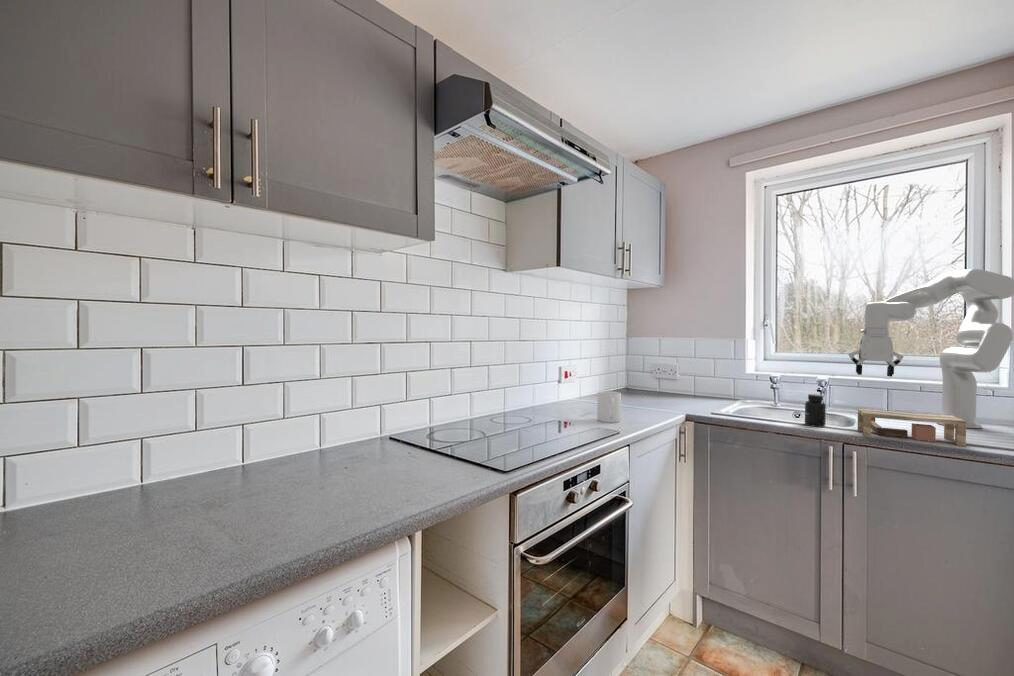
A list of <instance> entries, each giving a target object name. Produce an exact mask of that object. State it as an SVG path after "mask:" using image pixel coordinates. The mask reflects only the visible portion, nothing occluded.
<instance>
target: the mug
mask: <svg viewBox="0 0 1014 676" xmlns="http://www.w3.org/2000/svg"><path fill="white" fill-rule="evenodd" d="M596 411H597V416H596V417H597V420H598V422H600V423H607V424H616V423H617V424H618V423H620V422H621V420H622V392H619V391H613V390H612V391H611V390H603V391H601V390H600V391H597V410H596Z"/></svg>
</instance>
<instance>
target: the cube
mask: <svg viewBox="0 0 1014 676" xmlns="http://www.w3.org/2000/svg"><path fill="white" fill-rule="evenodd" d="M936 430H937V428H936V426H934V425H932V424H926V423H925V424H923V423H913V422H912V423H911V436H912V437H913V438H915V439H918V440H917V441H920V440H930V441H935V442H936V440H937V439H936V433H937V432H936ZM912 437H911V438H912ZM913 438H912V439H913ZM915 439H914V440H915ZM930 441H929V442H930Z"/></svg>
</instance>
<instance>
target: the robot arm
mask: <svg viewBox="0 0 1014 676" xmlns="http://www.w3.org/2000/svg"><path fill="white" fill-rule="evenodd" d="M959 293H960V294H961V297H962V298H963V300H964V302H965V303H966V306H967V313H966V315H965V317H964V319H963V321H962V323H961V324H960V327H959V329H958V330H957V333H956V336H955V340H956V342H957V343H958V344H959V345H962V346H952V347H948V348H945V349H944V350H942V352H941V353H940V354H939V364H940V368H941V371H942V372H941V373H942V374H941V375H942V389H941V390H942V395H941V396H942V397H941V415H952V416H955V417H957V418H959V419H962V420H964V421H966V429H981V428H982V426H983V425H982V424H980V423H978V422H977V389H978V387H977V386H978V385H977V384H978V383H977V380H976V377H975V375H974V373H992V372H993V371H995V370H996V369H998V367H999V366H1000V364H1001V363H1002V361H1003V359H1004V357H1005V355H1006V353H1007V352H1008V351H1009V348H1010V347H1011V344H1012V342H1013V331H1012V329H1011V327H1010V326H1008V324H1006V323H1001V322H997V319H998V317H999V311H998V308H997V306H995V303H994V302H993V301H992V300H1004V299H1009V298H1011V297H1013V296H1014V278H1013V277H1011V276H1008V275H1005V274H1000V273H996V272H993V271H988V270H985V269H980V268H979V269H978V268H970V269H962V270H955V271H950V272H947V273H944V274H943V275H940V276H939V277H937V278H935V279H933V280H931V281H929V282H927V283H925V284H923V285H921V286H919V287H917V288H916V287H915V288H913V289H910V290H908V291H905V292H902V293H900V294H897V295H894V296H892V297H889V298H888V299H885V300H884V301H873V302H868V303H866V305H865V308H864V309H865V311H864V328H863V329H860V330H859V333H860V334H863V336H861V338H860V342H859V347H858V349H857V350H855V351H851V352H850V353H848V357H849V358H850V360H851V361H852V362H853V363H854V364H855V373H856V374H857V375H859V376H862V374H863V365H862V363H864V362H865V361H868V362H869V361H870V362H886V364H887V365H888V366H887V369H886V371H887V372H886V376H887V377H893V375H894V374H895V367H897V365H898V364H900V363H901V361H902V360H903V359H904V355H902V354H899V353H897V352H896V351H894V344H893V337H892V336H890V335H889V333H890V322H903V321H904V322H905V321H909V320H911V319H913V318H914V317H915V316H916V312H917V309H921V308H928V307H931V306H934V305H937V304H939V303H941V302H942V301H944V300H946V299H948V298H951V297H953V296H955V295H956V294H959ZM855 355H858V359H857V358H856V357H855ZM894 357H896V359H894ZM937 424H938V425H941V426H944V423H937ZM954 428H955V424H954Z"/></svg>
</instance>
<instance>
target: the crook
mask: <svg viewBox="0 0 1014 676" xmlns="http://www.w3.org/2000/svg"><path fill="white" fill-rule="evenodd" d="M860 409H871V410H875V409H874V408H870V407H869V408H867V407H860ZM871 431H873V432H874V431H875V432H876V433H875V432H874V433H875V434H876V435H878V436H884V435H887V436H886V437H895V436H902V437H901V438H905V437H907V438H908V437H909V436H908V434H909V433H908V431H909V430H907V429H903V428H892V427H883V426H881V425H879V424H878V423H877V422H876V418H873V417H871Z"/></svg>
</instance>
